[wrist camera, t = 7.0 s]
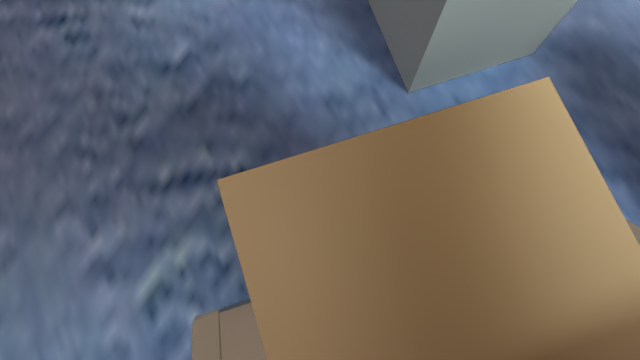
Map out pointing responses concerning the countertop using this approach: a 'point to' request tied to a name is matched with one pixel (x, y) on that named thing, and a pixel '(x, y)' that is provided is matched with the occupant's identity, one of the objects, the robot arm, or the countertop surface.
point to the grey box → (462, 34)
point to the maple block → (441, 241)
